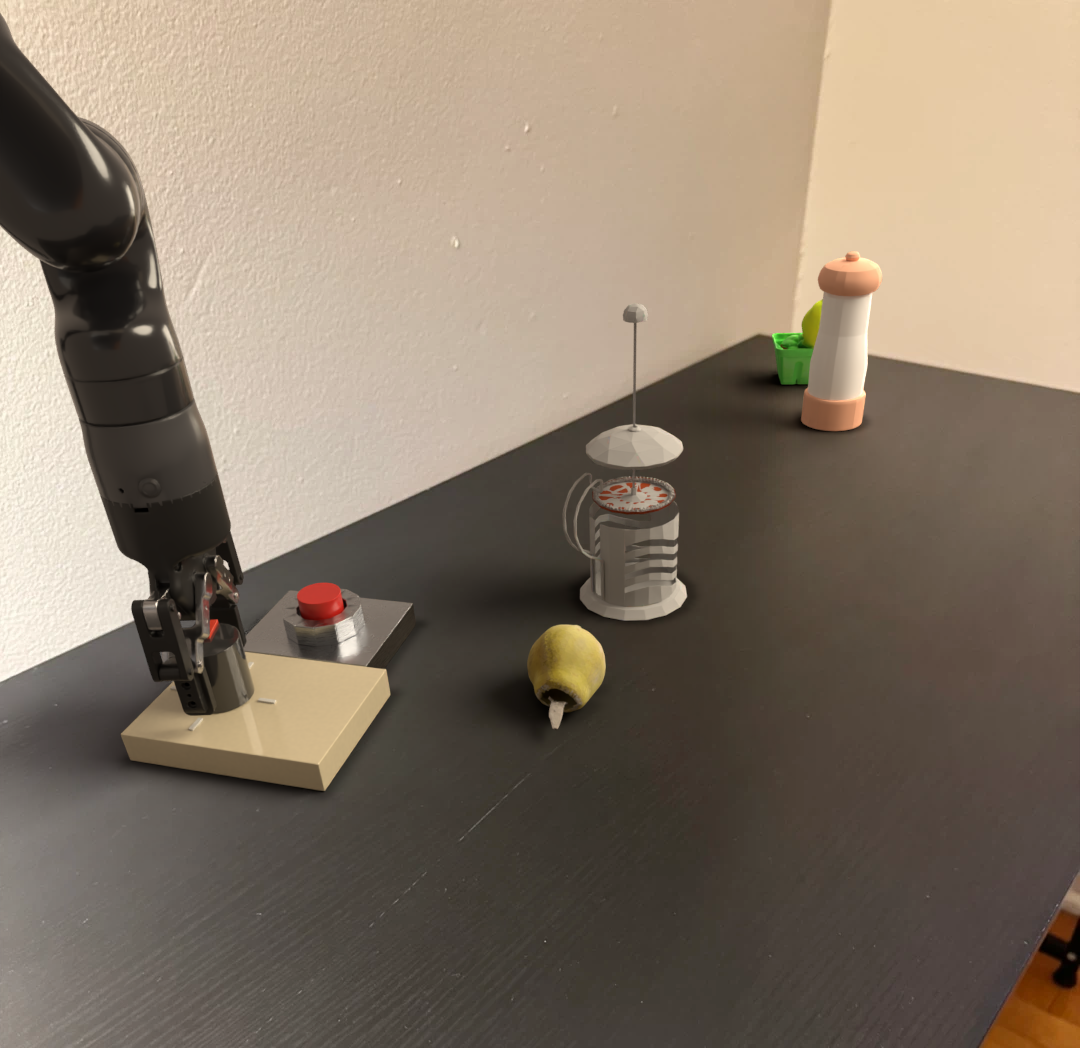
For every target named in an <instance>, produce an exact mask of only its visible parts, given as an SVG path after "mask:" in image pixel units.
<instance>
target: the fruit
mask: <svg viewBox="0 0 1080 1048" xmlns="http://www.w3.org/2000/svg"><path fill="white" fill-rule="evenodd" d="M604 652H605V651H604V649H603V646H602V644H601V643H600V642H599V640H598V639H597V638H596V637H595V636H594V635H593V634H592V633H591V632H589V631H588V630H586V629H584V628H582V626H580V625H578V624H556V625H553V626H550V627H549V628H548V629H547V630H546V631H544V632H543V633H542V634H541V635H540V636H539V637H538V638H537V639H536V640H535V641H534V643H533V644H532V646H531V648H530V650H529V653H528V656H527V661H526V667H527V673H528V678H529V680H530V682H531V684H532V686H533V689H534V690H533V691H534V695H535V696H536V698H537V700H539V701H540V702H541V704H543V705H545V706H547V707H549V708H548V709H549V710H548V718H549V720H550V721H549V722H550V726H551V729H552V730H553V731H558V730H559V727H560V725H561V722H562V719H563V715H564V713H571V712H575V711H578V710H581V709H582V708H583V707H584V706H585V705H586V704H587V703H588V702H589V701H590V699H591V698H592V697H593V696H594V694H595V693H596V692H597V691H598V689H599V688H600V687H601V685H602V684H603V681H604V678H605V676H606V665H607V664H606V656H605V653H604Z"/></svg>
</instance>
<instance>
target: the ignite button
mask: <svg viewBox="0 0 1080 1048" xmlns="http://www.w3.org/2000/svg"><path fill="white" fill-rule="evenodd" d="M340 589H341V588H340V587H339V585H337V584H334V583H332V582H316V583H311V584H308V585H306V586H304V587H302V588H301V589H300V590H298V591H299V592H298V594H297V600H298V605H299V609H300V613H301V617H302V618H303V619H306V620H315V621H317V620H323V619H329V618H332V617H334V616H336V615H338V614H340V613H342V612H343V610H344V605H343V600H342V595H341V590H340Z"/></svg>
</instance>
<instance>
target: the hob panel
mask: <svg viewBox="0 0 1080 1048" xmlns="http://www.w3.org/2000/svg"><path fill="white" fill-rule="evenodd" d="M245 655H246V658H247V662H248V666H249V669H250V673H251V677H252V680H253V684H254V688H255V689H254V694H253V696H252V697H251V698H250V699H249V701H247V702H246V703H245V704H243V705H242V706H240V707H238V708H236V709H233V710H230V711H227V712H222V713H213V714H211V715H199V716H190V715H187V714H186V713H185V712H184V711H183V708H182V705H181V702H180V699H179V696H178V693H177V690H176V686H175V683H174V681H171V683H170V684H169V685H168V686H167V687H166V688H165V689H164V690H163V691H162V692H161V693H160V694H159V695H158V696H157V697H156V698H155V699H154V700H153V701H152V702H151V703H150V704H149V705H148V706H146V708H145V709H143V711H142V712H141V713H140V714H139V715H138V716H137V717H136V718H135V719H134V720H132V722H131V723H130V724H129V725H128V726H127V727H126V728H125V729H124V730H123V731H122V732H121V733H120V737H121V740H122V742H123V745H124V747H125V750H126V752H127V755H128V758H129V760H130V761H132V762H139V763H145V764H151V765H158V766H164V767H170V768H176V769H182V770H189V771H195V772H202V773H207V774H214V775H219V776H227V777H233V778H239V779H245V780H251V781H258V782H264V783H269V784H277V785H282V786H283V785H284V786H289V787H295V788H302V789H307V790H313V791H320V792H326V790H327V789H328V787H329V786H330V784H331V783H332V782H333V780H334V779H335V777H336V776H337V774H338V773H339V771H340V770H341V769H342V767H343V766H344V764H345V763H346V761H347V759H348V758H349V757H350V755H351V753H352V752H353V751H354V750H355V748H356V747H357V744H358V743H359V742H360V740H361V739H362V738H363V736H364V734H365V733H367V730H368V729H369V727H370V725H372V723H373V721H374V720H375V719H376V717H377V715H378V714H379V713H380V711H382V708H383V707H384V705H385V704H386V703H387V701H388V699H389V698H390V696H391V689H390V684H389V677H388V671H387V669H386V668H385V669H380V668H372V667H364V666H355V665H347V664H339V663H331V662H323V661H315V660H307V659H299V658H291V657H283V656H275V655H267V654H259V653H251V652H245Z"/></svg>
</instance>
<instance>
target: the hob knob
mask: <svg viewBox="0 0 1080 1048" xmlns="http://www.w3.org/2000/svg"><path fill="white" fill-rule="evenodd" d="M186 644H187V648H188V651H189V655H190V641H189V640H186ZM203 657H204V667H205V668H206V671H207V675H208V678H209V681H210V684H211V688H212V691H213V694H214V698H215V701H216V704H217V706H216V708H215V710H214V713H222V712H227V711H230V710H233V709H236V708H238V707H240V706H242V705H243V704H245V703H246V702H247V701H249V699H250V698H251V697H252V696H253V694H254V689H255V688H254V684H253V680H252V677H251V673H250V669H249V666H248V662H247V658H246V655H245V651H244V647H243V644H242V640H241V636H240V633H239V631H238V629H237V628H236V627H234V626H232V625H230V624H226V623H218V619H214V620H210V635H209V637H208V638H207V639H206V640H204V642H203Z"/></svg>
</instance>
